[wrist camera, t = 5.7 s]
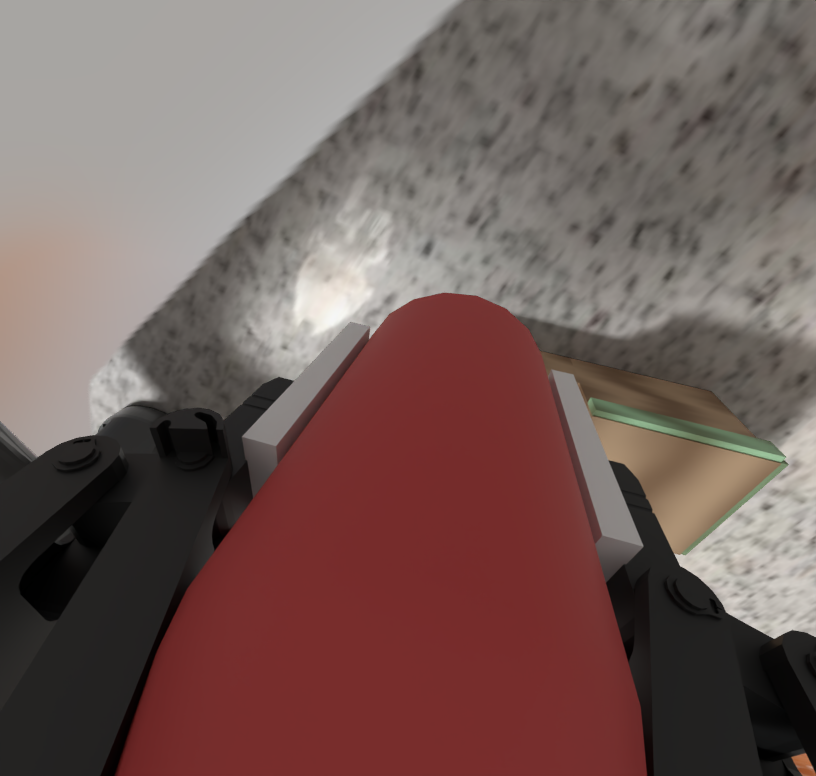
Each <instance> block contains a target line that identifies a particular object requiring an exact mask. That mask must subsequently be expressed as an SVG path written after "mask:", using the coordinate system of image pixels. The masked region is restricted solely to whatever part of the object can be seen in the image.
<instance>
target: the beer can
mask: <svg viewBox="0 0 816 776" xmlns="http://www.w3.org/2000/svg"><path fill="white" fill-rule="evenodd" d="M114 776H647V769H646V759H645V748H644V737H643V726H642V716H641V706H640V702H639V699H638V695H637V692H636V688H635V685H634V681H633V678H632V674H631V670H630V667H629V663H628V660H627V656H626V653H625V649H624V646H623V642H622V638H621V635H620V631H619V628H618V624H617V621H616V617H615V614H614V610H613V606H612V603H611V599H610V596H609V592H608V589H607V585H606V582H605V578H604V575H603V571H602V567H601V564H600V560H599V557H598V553H597V550H596V546H595V543H594V539H593V535H592V532H591V528H590V525H589V521H588V518H587V514H586V511H585V507H584V503H583V500H582V496H581V493H580V489H579V486H578V482H577V479H576V475H575V471H574V468H573V464H572V461H571V457H570V454H569V450H568V447H567V443H566V440H565V436H564V432H563V429H562V425H561V422H560V418H559V415H558V411H557V408H556V404H555V400H554V397H553V393H552V390H551V386H550V383H549V379H548V376H547V372H546V368H545V365H544V361H543V358H542V354H541V353H540V351H539V349H538V347H537V345H536V343H535V341H534V339H533V337H532V335H531V333H530V331H529V329H528V328H527V327H525V326H524V325H523V324H522V323H521V322H520V321H519V320H518V319H517V318H516V317H515V316H513V315H512V314H511V313H510V312H509V311H508V310H507V309H505V308H503V307H501V306H499V305H496V304H494V303H492V302H489V301H487V300H485V299H483V298H480V297H478V296H473V295H463V294H452V293H441V294H436V295H432V296H427V297H422V298H418V299H414V300H412V301H410V302H409V303H407V304H405V305H404V306H402V307H401V308H399V309H397V310H396V311H394V312H392V313H391V314H389V315H388V317H387V318H386V319H385V320H384V322H383V323H382V324H381V325H380V327H379V328H378V329H377V330H376V331H375V333H374V334H373V335H372V337H371V338H370V339H369V341H368V342H367V343H366V345H365V346H364V348H363V349H362V350H361V352H360V353H359V354H358V356H357V357H356V359H355V360H354V361H353V363H352V364H351V365H350V367H349V368H348V369H347V371H346V372H345V374H344V375H343V376H342V378H341V379H340V380H339V382H338V383H337V384H336V386H335V387H334V389H333V390H332V391H331V393H330V394H329V395H328V397H327V398H326V400H325V401H324V402H323V404H322V405H321V406H320V408H319V409H318V410H317V412H316V413H315V415H314V416H313V417H312V419H311V420H310V421H309V423H308V424H307V426H306V427H305V428H304V430H303V431H302V432H301V434H300V435H299V436H298V438H297V439H296V441H295V442H294V443H293V445H292V446H291V447H290V449H289V450H288V452H287V453H286V454H285V456H284V457H283V458H282V460H281V461H280V462H279V464H278V465H277V467H276V468H275V469H274V471H273V472H272V473H271V475H270V476H269V478H268V479H267V480H266V482H265V483H264V484H263V486H262V487H261V488H260V490H259V491H258V493H257V494H256V495H255V497H254V498H253V499H252V501H251V502H250V503H249V505H248V506H247V508H246V509H245V510H244V512H243V513H242V514H241V516H240V517H239V519H238V520H237V521H236V523H235V524H234V525H233V527H232V528H231V529H230V531H229V532H228V534H227V535H226V536H225V538H224V539H223V540H222V542H221V543H220V545H219V546H218V547H217V549H216V550H215V551H214V553H213V554H212V555H211V557H210V558H209V560H208V561H207V562H206V564H205V565H204V566H203V568H202V569H201V571H200V572H199V573H198V575H197V576H196V577H195V579H194V580H193V581H192V583H191V584H190V586H189V587H188V588H187V590H186V592H185V594H184V596H183V598H182V600H181V602H180V604H179V606H178V609H177V611H176V613H175V615H174V617H173V619H172V621H171V623H170V625H169V627H168V629H167V631H166V633H165V635H164V637H163V639H162V641H161V643H160V645H159V647H158V649H157V651H156V654H155V657H154V660H153V662H152V665H151V668H150V671H149V674H148V677H147V680H146V683H145V685H144V688H143V691H142V694H141V697H140V700H139V703H138V705H137V708H136V711H135V714H134V717H133V720H132V723H131V726H130V729H129V732H128V735H127V738H126V741H125V744H124V747H123V750H122V753H121V756H120V759H119V762H118V765H117V768H116V771H115V774H114Z"/></svg>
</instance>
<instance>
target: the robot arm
mask: <svg viewBox="0 0 816 776" xmlns="http://www.w3.org/2000/svg"><path fill="white" fill-rule="evenodd" d="M369 332H370V326H366V325H361V324H357V323H353V322H350V323H349V324H348V325H347V326H346V327H345V328H344V329H343V330H342V331H341V332H340V333H339V334H338V336H337V337H336V338H335V339H334V340H333V341H332V342H331V343H330V344H329V345H328V346H327V347H326V348H325V349H324V350H323V351H322V352H321V353H320V355H319V356H318V357H317V358H316V359H315V360H314V361H313V362H312V363H311V364H310V365H309V366H308V367H307V368H306V369H305V370H304V371H303V373H302V374H301V375H300V376H299V377H298V378H297V379H296V380H295V381H292V380H288V379H284V378H280V377H278V378H276V379H274V380H271V381H269V382H267V383H265V384H263V385H262V386H261V387H260V388H258V389H257V390H256V391H255V392H254V393H253V394H252V397H249V398H248V399H247V400H246V401H244V402H243V405H240V406H239V407H238V408H237V409H236V410H235V411H234V412H233V413H231V414H230V415H229V416H228V417H227V418H226V419H225V420H224V421H223V419H222V417H221V416H220V414H218V413H216V412H214V411H212V410H209V409H202V408H191V409H183V410H179V411H175V412H172V413H169V414H165V413H163V412H160V411H158V410H155V409H152V408H148V407H143V406H130V407H126V408H124V409H122V410H120V411H119V412H117V413H116V414H114V415H112V416H111V417H109V418H108V419H107V420H106V421H104V422H103V424H102V425H101V426H100V428H99V430H98V433H97V434H96V435H92V436H86V437H79V438H75V439H72V440H70V441H67V442H64V443H61V444H59V445H57V446H55V447H54V448H52V449H50V450H48V451H46V452H45V453H44V454H43V455H41V456H39V457H37V456H36V455H35V454H34V453H33V452H32V451H31V450H30V449H29V448H28V447H27V446H26V445H24V443H23V442H22V441H20V440H19V439H18V438H17V437H16V436H15V435H14V434H13V433H12V432H11V431H10V430H9V429H8V428H7V427H6V426H5V425H4V424H2V423H1V422H0V776H114V774H115V771H116V768H117V765H118V762H119V759H120V756H121V753H122V750H123V747H124V744H125V741H126V738H127V735H128V732H129V729H130V726H131V723H132V720H133V717H134V714H135V711H136V708H137V705H138V703H139V700H140V697H141V694H142V691H143V688H144V685H145V683H146V680H147V677H148V674H149V671H150V668H151V665H152V662H153V660H154V657H155V654H156V651H157V649H158V647H159V645H160V643H161V641H162V639H163V637H164V635H165V633H166V631H167V629H168V627H169V625H170V623H171V621H172V619H173V617H174V615H175V613H176V611H177V609H178V606H179V604H180V602H181V600H182V598H183V596H184V594H185V592H186V590H187V588H188V587H189V586H190V584H191V583H192V581H193V580H194V579H195V577H196V576H197V575H198V573H199V572H200V571H201V569H202V568H203V566H204V565H205V564H206V562H207V561H208V560H209V558H210V557H211V555H212V554H213V553H214V551H215V550H216V549H217V547H218V546H219V545H220V543H221V542H222V540H223V539H224V538H225V536H226V535H227V534H228V532H229V531H230V529H231V528H232V527H233V525H234V524H235V523H236V521H237V520H238V519H239V517H240V516H241V514H242V513H243V512H244V510H245V509H246V508H247V506H248V505H249V503H250V502H251V501H252V499H253V498H254V497H255V495H256V494H257V493H258V491H259V490H260V488H261V487H262V486H263V484H264V483H265V482H266V480H267V479H268V478H269V476H270V475H271V473H272V472H273V471H274V469H275V468H276V467H277V465H278V464H279V462H280V461H281V460H282V458H283V457H284V456H285V454H286V453H287V452H288V450H289V449H290V447H291V446H292V445H293V443H294V442H295V441H296V439H297V438H298V436H299V435H300V434H301V432H302V431H303V430H304V428H305V427H306V426H307V424H308V423H309V421H310V420H311V419H312V417H313V416H314V415H315V413H316V412H317V410H318V409H319V408H320V406H321V405H322V404H323V402H324V401H325V400H326V398H327V397H328V395H329V394H330V393H331V391H332V390H333V389H334V387H335V386H336V384H337V383H338V382H339V380H340V379H341V378H342V376H343V375H344V374H345V372H346V371H347V369H348V368H349V367H350V365H351V364H352V363H353V361H354V360H355V359H356V357H357V356H358V354H359V353H360V352H361V350H362V349H363V348H364V346H365V345H366V343H367V342H368V341H369ZM548 379H549V383H550V386H551V390H552V393H553V397H554V400H555V404H556V408H557V411H558V415H559V418H560V422H561V425H562V429H563V432H564V436H565V440H566V443H567V447H568V450H569V454H570V457H571V461H572V464H573V468H574V471H575V475H576V479H577V482H578V486H579V489H580V493H581V496H582V500H583V503H584V507H585V511H586V514H587V518H588V521H589V525H590V528H591V532H592V535H593V539H594V543H595V546H596V550H597V553H598V557H599V560H600V564H601V567H602V571H603V575H604V578H605V582H606V585H607V589H608V592H609V596H610V599H611V603H612V606H613V610H614V614H615V617H616V621H617V624H618V628H619V631H620V635H621V638H622V642H623V646H624V649H625V653H626V656H627V660H628V663H629V667H630V670H631V674H632V678H633V681H634V685H635V688H636V692H637V695H638V699H639V702H640V706H641V716H642V726H643V737H644V748H645V759H646V769H647V776H802V774H801V773H800V772H799V770H798V769H797V767H796V765H795V763H794V762H793V759H792V757H794V756H797V755H801V754H805V753H806V754H807V756H808V759H809V761H810V763H811V765H812V767H813V769H814V771H815V773H816V637H814V636H812V635H810V634H808V633H805V632H799V631H794V630H792V631H789V632H787V633H785V634H783V635H781V636H779V637H777V638H775V639H773V638H771V637H769V636H767V635H766V634H764V633H762V632H760V631H758V630H756V629H755V628H753V627H751V626H749V625H747V624H745V623H744V622H742V621H740V620H738V619H736V618H735V617H733V616H731V615H729V614H728V613H726V612H725V609H724V607H723V605H722V603H721V602H720V601H719V599H718V598H717V596H716V595H715V594H714V592H713V591H712V590H711V589H710V588H709V587H708V586H707V585H706V584H705V583H704V582H702V581H701V580H700V579H699V578H698V577H697V576H695V575H694V574H692V573H691V572H689V571H687V570H686V569H684V568H682V567H680V565H679V563H678V561H677V559H676V557H675V555H674V553H673V551H672V549H671V546H670V544H669V542H668V540H667V538H666V536H665V534H664V532H663V530H662V528H661V526H660V524H659V521H658V519H657V517H656V515H655V513H652V511H653V509H652V507H651V505H650V503H649V501H648V499H646V494H645V492H644V490H643V488H642V486H641V484H640V482H639V480H638V479H637V478H636V477H635V475H634V474H633V473H632V472H631V471H630V470H629V469H628V468H627V467H626V465H625V464H622V463H618V462H614V461H610V460H608V458H607V456H606V453H605V451H604V448H603V446H602V444H601V441H600V439H599V436H598V434H597V431H596V429H595V426H594V424H593V421H592V419H591V417H590V414H589V412H588V409H587V407H586V404H585V402H584V399H583V397H582V395H581V392H580V390H579V387H578V385H577V382H576V380H575V377H574V375H573V374H569V373H565V372H560V371H556V370H552V369H551V371H550V374H549V376H548Z"/></svg>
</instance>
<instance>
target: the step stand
mask: <svg viewBox="0 0 816 776" xmlns="http://www.w3.org/2000/svg"><path fill="white" fill-rule="evenodd" d="M540 353H541V354H542V358H543V361H544V365H545V368H546V372H547V376H549V374H550V371H551V369H552V370H556V371H560V372H565V373H569V374H573V375H574V377H575V380H576V382H577V385H578V387H579V390H580V392H581V395H582V397H583V399H584V402H585V404H586V407H587V409H588V412H589V414H590V417H591V419H592V421H593V424H594V426H595V429H596V431H597V434H598V436H599V439H600V441H601V444H602V446H603V448H604V451H605V453H606V456H607V458H608V460H610V461H614V462H618V463H622V464H625V465H626V467H627V468H628V469H629V470H630V471H631V472H632V473H633V474H634V475H635V477H636V478H637V479H638V480H639V482H640V484H641V486H642V488H643V490H644V492H645V494H646V499H648V501H649V503H650V505H651V507H652V509H653V511H652V513H655V515H656V517H657V519H658V521H659V524H660V526H661V528H662V530H663V532H664V534H665V536H666V538H667V540H668V542H669V544H670V546H671V549H672V551H673V553H675V554H679V555H680V554H683V555H686V554H687V553H688V552H690V551H691V550H692V549H693V548H694V547H695V546H696V545H698V544H699V543H700V542H701V541H702V540H703V539H704V538H706V537H707V536H708V535H709V534H710V533H711V532H712V531H714V530H715V529H716V528H717V527H718V526H719V525H720V524H722V523H723V522H724V521H725V520H726V519H727V518H728V517H730V516H731V515H732V514H733V513H734V512H735V511H736V510H738V509H739V508H740V507H741V506H742V505H743V504H744V503H746V502H747V501H748V500H749V499H750V498H751V497H752V496H754V495H755V494H756V493H757V492H758V491H759V490H760V489H762V488H763V487H764V486H765V485H766V484H767V483H768V482H769V481H771V480H772V479H773V478H774V477H775V476H776V475H777V474H779V473H780V472H781V471H782V470H783V469H784V468H785V467H787V466H788V464H787V463H786V462H785V461H784V459H785V458H786V456H785V455H784V454H783V453H782V452H781V451H780V450H778V449H777V448H776V447H775V446H774V445H773V444H772V443H771V442H770V441H766V440H762V439H758V438H756V437H755V436H754V435H753V434H752V433H751V432H750V431H749V430H748V429H747V428H746V427H745V426H744V425H743V424H742V423H741V421H740V420H739V419H738V418H737V417H736V416H735V415H734V414H733V413H732V412H731V411H730V410H729V409H728V408H727V407H726V406H725V405H724V404H723V403H722V402H721V401H720V400H719V399H718V398H717V397H716V396H715V395H714V394H713V393H712V392H711V391H707V390H703V389H698V388H694V387H690V386H686V385H682V384H677V383H673V382H669V381H665V380H661V379H656V378H652V377H648V376H644V375H639V374H635V373H631V372H627V371H623V370H618V369H614V368H610V367H606V366H602V365H597V364H593V363H589V362H585V361H581V360H576V359H572V358H568V357H564V356H560V355H555V354H551V353H547V352H543V351H540Z"/></svg>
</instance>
